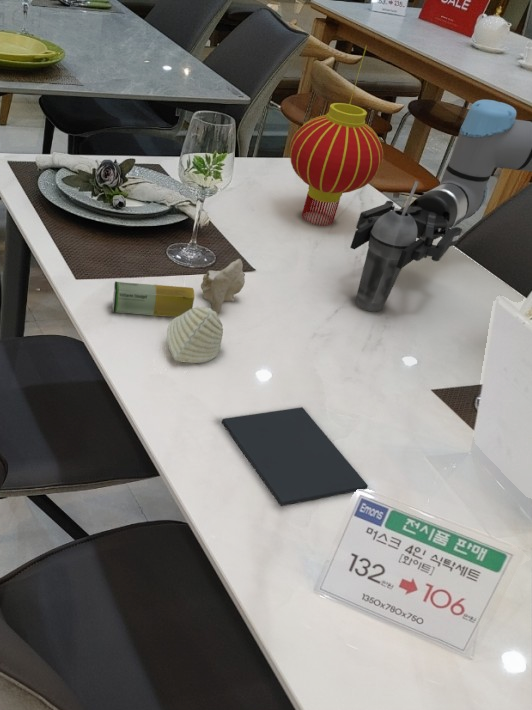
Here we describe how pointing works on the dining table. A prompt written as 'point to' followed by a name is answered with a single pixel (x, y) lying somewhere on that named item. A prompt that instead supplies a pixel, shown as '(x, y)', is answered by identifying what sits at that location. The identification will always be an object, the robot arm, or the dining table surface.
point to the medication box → (152, 299)
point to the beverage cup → (385, 256)
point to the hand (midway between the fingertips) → (378, 249)
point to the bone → (223, 284)
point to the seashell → (195, 335)
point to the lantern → (335, 156)
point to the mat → (293, 455)
